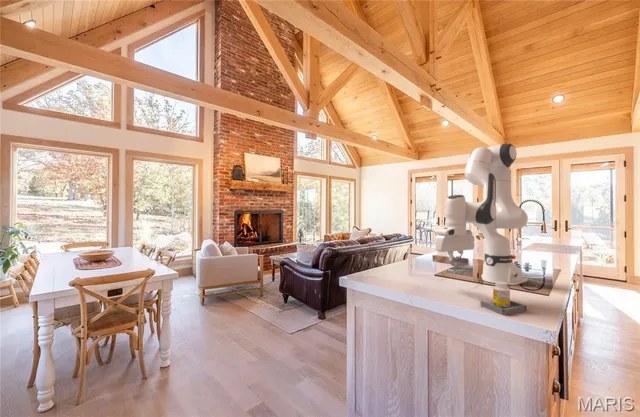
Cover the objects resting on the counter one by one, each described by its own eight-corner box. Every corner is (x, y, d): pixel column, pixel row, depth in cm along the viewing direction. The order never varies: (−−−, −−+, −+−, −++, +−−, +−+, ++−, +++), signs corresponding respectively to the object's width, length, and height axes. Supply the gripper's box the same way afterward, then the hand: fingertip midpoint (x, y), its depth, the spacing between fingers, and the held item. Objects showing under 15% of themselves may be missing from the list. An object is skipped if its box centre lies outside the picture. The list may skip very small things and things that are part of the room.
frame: (501, 302, 118) (501, 297, 118) (526, 310, 108) (526, 305, 108) (480, 306, 114) (480, 301, 114) (504, 315, 104) (504, 310, 104)
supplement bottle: (494, 304, 116) (494, 279, 115) (510, 307, 112) (510, 281, 112) (492, 308, 111) (492, 282, 111) (508, 311, 108) (508, 285, 108)
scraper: (429, 261, 139) (428, 255, 139) (440, 260, 141) (439, 254, 142) (456, 266, 123) (456, 259, 123) (468, 265, 126) (468, 258, 126)
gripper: (466, 229, 135) (466, 257, 135) (433, 230, 127) (433, 260, 127) (478, 230, 129) (477, 260, 129) (443, 231, 121) (443, 263, 122)
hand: (455, 260), depth 128 cm, fingers closed on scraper, 2 cm apart
